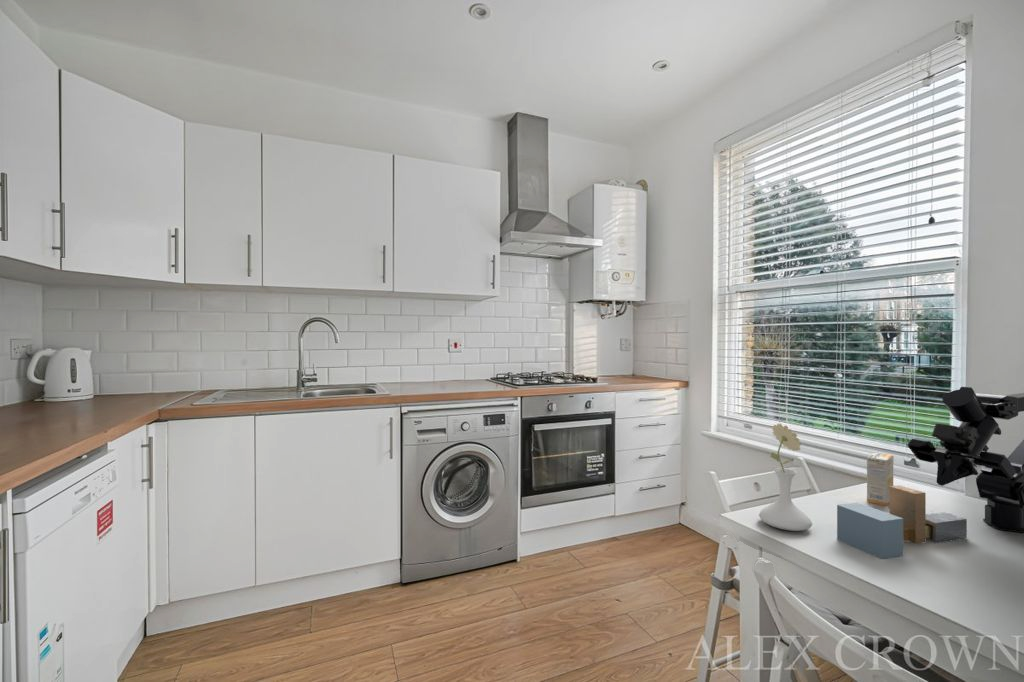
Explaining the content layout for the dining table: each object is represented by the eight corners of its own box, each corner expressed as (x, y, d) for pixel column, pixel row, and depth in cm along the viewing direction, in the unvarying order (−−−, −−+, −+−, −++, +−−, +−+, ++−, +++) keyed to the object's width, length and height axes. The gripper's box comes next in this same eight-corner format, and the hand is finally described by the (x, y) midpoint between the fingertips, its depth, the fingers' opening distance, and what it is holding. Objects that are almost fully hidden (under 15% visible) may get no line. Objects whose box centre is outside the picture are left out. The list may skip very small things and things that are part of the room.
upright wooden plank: (935, 527, 111) (935, 481, 111) (963, 536, 105) (963, 488, 106) (871, 536, 105) (871, 488, 106) (897, 546, 100) (897, 495, 100)
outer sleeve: (944, 531, 111) (944, 512, 111) (966, 538, 106) (966, 518, 107) (914, 535, 108) (914, 515, 108) (935, 543, 104) (935, 523, 104)
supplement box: (873, 495, 136) (873, 452, 137) (894, 500, 133) (894, 455, 133) (865, 501, 131) (865, 456, 131) (887, 506, 128) (887, 459, 128)
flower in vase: (821, 537, 107) (821, 430, 107) (768, 533, 109) (768, 428, 109) (798, 516, 119) (798, 421, 120) (750, 513, 122) (751, 419, 122)
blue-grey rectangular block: (857, 536, 107) (857, 502, 107) (903, 555, 98) (903, 518, 98) (837, 539, 106) (837, 504, 106) (881, 559, 96) (882, 521, 96)
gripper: (912, 406, 118) (879, 451, 115) (1006, 418, 100) (971, 472, 97) (934, 436, 120) (903, 481, 117) (1031, 452, 102) (996, 506, 99)
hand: (939, 484), depth 107 cm, fingers closed
